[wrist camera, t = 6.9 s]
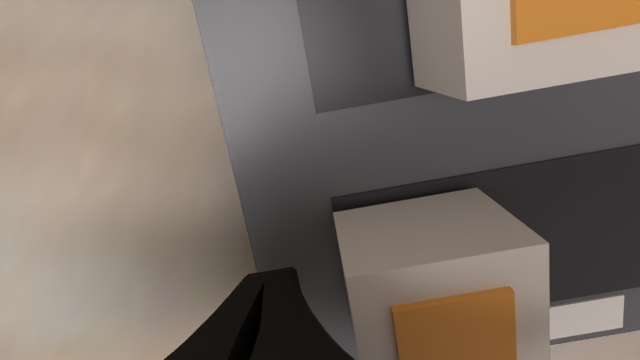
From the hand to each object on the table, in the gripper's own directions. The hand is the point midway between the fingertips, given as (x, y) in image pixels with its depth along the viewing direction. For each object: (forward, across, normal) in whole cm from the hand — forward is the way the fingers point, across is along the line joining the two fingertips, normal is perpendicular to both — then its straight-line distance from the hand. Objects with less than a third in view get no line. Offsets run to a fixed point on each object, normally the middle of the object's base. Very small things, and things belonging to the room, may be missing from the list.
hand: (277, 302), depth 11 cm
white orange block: (+1, -4, 0) cm, 4 cm away
